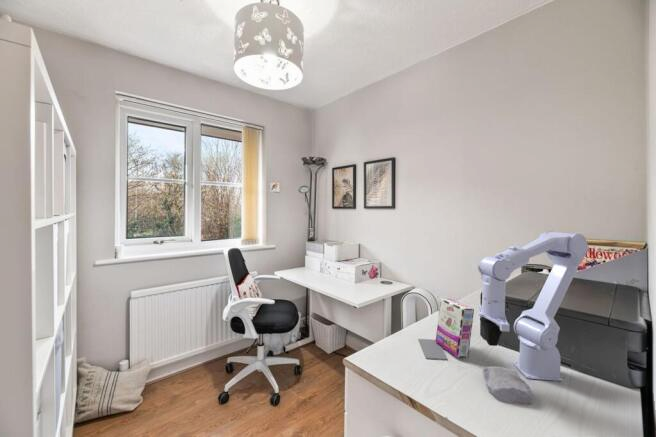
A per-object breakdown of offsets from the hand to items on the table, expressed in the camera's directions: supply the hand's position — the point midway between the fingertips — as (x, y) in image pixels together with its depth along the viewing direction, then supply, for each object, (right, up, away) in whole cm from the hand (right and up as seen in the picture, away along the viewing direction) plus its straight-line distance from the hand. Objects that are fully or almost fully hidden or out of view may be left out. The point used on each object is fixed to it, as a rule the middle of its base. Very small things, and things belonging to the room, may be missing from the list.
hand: (492, 344), depth 81 cm
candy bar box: (-5, -10, +16) cm, 20 cm away
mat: (-11, -10, +17) cm, 23 cm away
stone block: (+1, -11, -4) cm, 12 cm away
